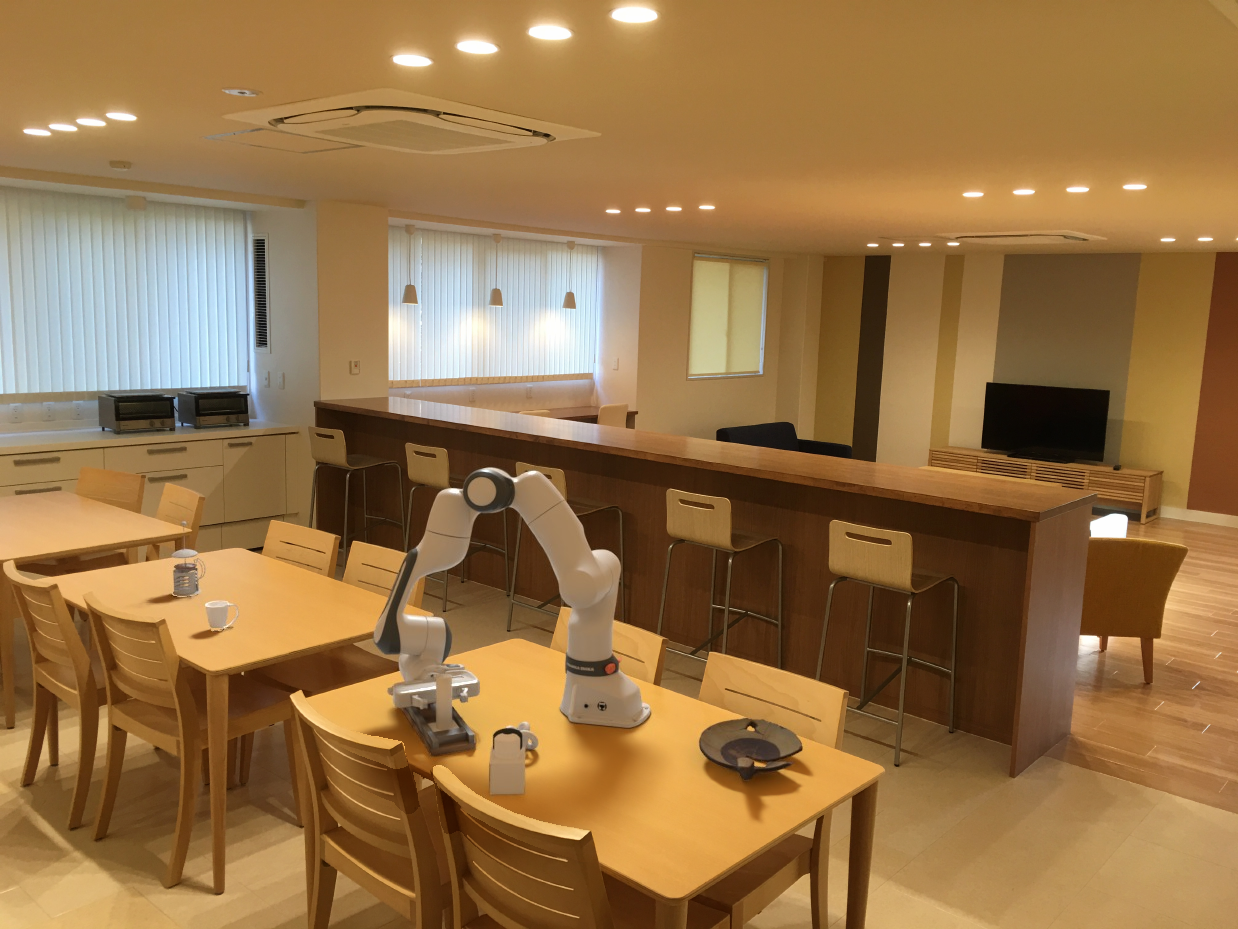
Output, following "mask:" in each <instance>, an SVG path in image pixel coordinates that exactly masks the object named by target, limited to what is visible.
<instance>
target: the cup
mask: <svg viewBox="0 0 1238 929" xmlns="http://www.w3.org/2000/svg"><path fill="white" fill-rule="evenodd" d="M204 605H205V606H204V607H205V610H206V616H207V621H208V623H209V624H208V625H209V627H210V629H211V628H223V629H225V630H226V628H225V627H228V628H229V627H230V626H232V625H233V624H234V623H235V622H236V620H238V618H239V616H240V615H239V614H240V611H239V609H238V606H237V605H236V604H234V603H229V601H227V600H212V601H209V602H206V603H205V604H204ZM232 606H234V608H235V611H236V615H235V617H234V619H232V621H231V622H230V623H228V624H227V620H228V614H229V607H232ZM223 629H220V630H223ZM214 631H218V630H214ZM223 631H224V630H223Z"/></svg>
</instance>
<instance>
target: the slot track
mask: <svg viewBox="0 0 1238 929" xmlns="http://www.w3.org/2000/svg"><path fill="white" fill-rule="evenodd" d="M427 706H428V708H426V709H420V707H416V706H410V707H404V708H400V709H401V711H402V712H403V715H404V716H405V717H406V719H407V720H408V722H409V723H410V725H411V726H412V728H413V729H414V731H415V732H416V734H417V736H418V737H419V739H420V740H421V742H422V743H423V745H424V746H425V748H426V749H427V751H428V753H429V754H430V756H431V757H432V756H434V757H438V756H444V755H445V756H446V755H449V754H450V755H451V754H455V753H461V752H466V751H472V750H476V749H477V742H476V741H475V740H476V736H475V733H474V732H473V730H472V729H471V728H470V727H469V726H468V724H467V723H466V721H465V720H464V719H463V717H462V716H461V714H459V712H458V711H457V709H456V708H455V707H454V706H453V705H452V720H454V721H455V723H456V724H457V725H458V727H459V728H454V729H448V730H442V731H436V732H432V730H431V729H430V727H429V726H428V724H429V723H435V722H436V702H435V703H429V704H428V705H427Z"/></svg>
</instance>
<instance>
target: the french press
mask: <svg viewBox="0 0 1238 929" xmlns="http://www.w3.org/2000/svg"><path fill="white" fill-rule="evenodd" d="M186 525H188V524H187V521H181V522H180V526H183V528H182V529H183V531H185V526H186ZM185 538H186V537H183V549H180V550H177V551H174V552H173V553H172V554H171V557H172V558H175V559H189V558H194V557H197V555H199V552H197V551H196V550H194V549H191V548H189V549H188V548H186V541H185ZM199 560H200V561H199ZM197 563H199V565H200V567H201V568H206V564H205V562H204V561H203V560H202V559H201V558H199V557H197V558H195V559H194V560H193V562H186V560H184V562H183V563H177V564H175V565H174V566H173V568H174V569H173V570H172V573H173V574H172V576H173V594H174V595H177V596H190V595H195V594H199V593H200V592H201V591H202V590H201V589H200V587H199V581H200V579H203V577H205V574H206V570H204V571H203V569H201V575H200V576H199V569H198V567H197V566H198V565H197ZM201 563H202V564H201ZM203 566H204V567H203Z"/></svg>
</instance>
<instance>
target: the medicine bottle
mask: <svg viewBox="0 0 1238 929" xmlns="http://www.w3.org/2000/svg"><path fill="white" fill-rule="evenodd" d="M522 737H523V735H522V733H521V732H520V731H519V730H517V729H513V728H506V727H505V728H499V729H497V730H496V731H494V733H493V734H492V747H491V748H490V755H489V762H488V763H489V766H488V768H489V770H488V778H489V780H488V781H489V782H488V783H489V785H488V786H489V788H488V793H489V795H490V796H495V795H497V796H500V795H503V796H504V795H506V796H507V795H524V794H525V793H526V792H525V788H526V787H525V783H526V780H525V779H526V750H525V747H522Z"/></svg>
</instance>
